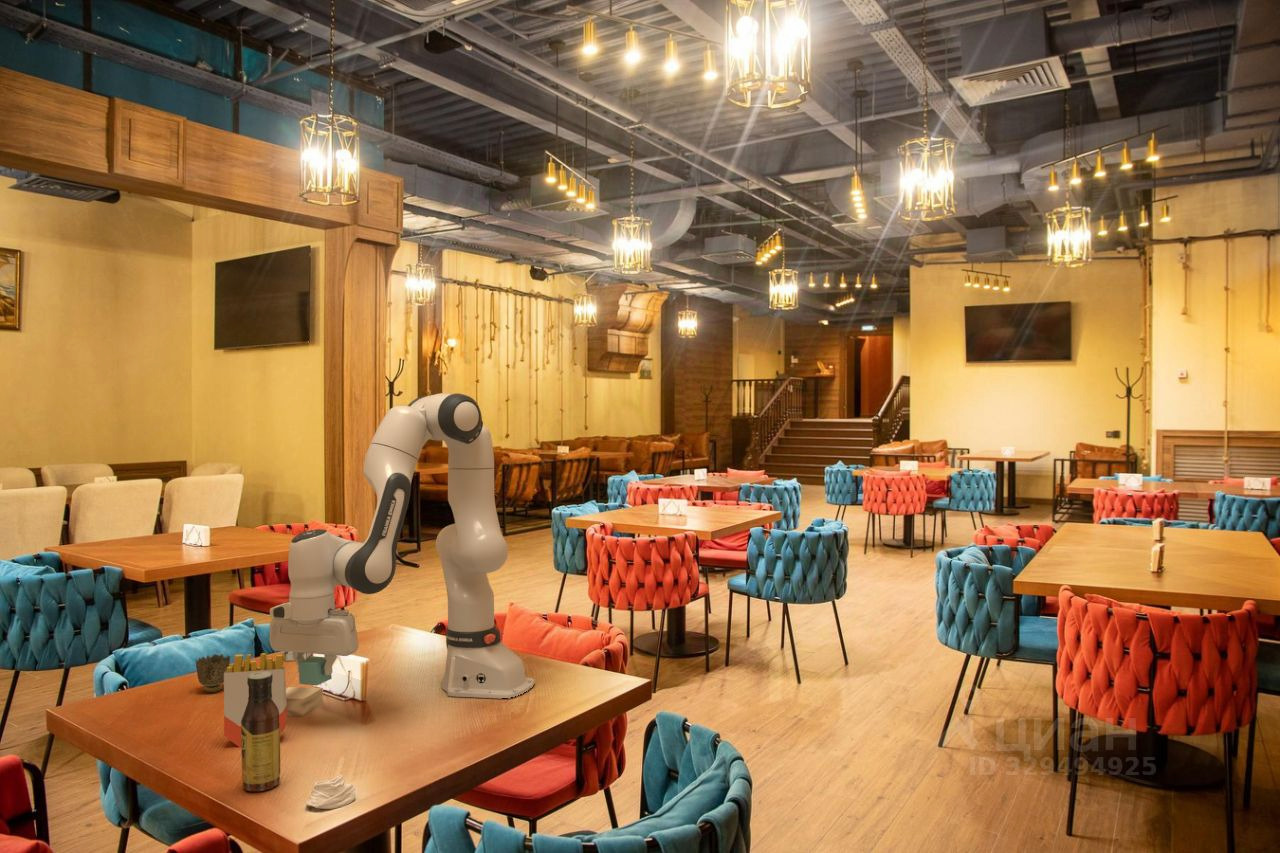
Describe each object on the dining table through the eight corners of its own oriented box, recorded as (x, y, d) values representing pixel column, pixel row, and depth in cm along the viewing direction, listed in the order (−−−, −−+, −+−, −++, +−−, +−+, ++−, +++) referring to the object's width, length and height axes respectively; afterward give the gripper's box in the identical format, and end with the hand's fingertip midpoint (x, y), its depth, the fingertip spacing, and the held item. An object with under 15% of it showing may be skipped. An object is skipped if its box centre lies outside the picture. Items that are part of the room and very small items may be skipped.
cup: (188, 694, 202) (188, 660, 202) (214, 685, 209) (214, 652, 209) (211, 697, 199) (211, 663, 199) (237, 688, 206) (237, 655, 206)
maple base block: (322, 705, 194) (322, 688, 194) (303, 717, 186) (303, 699, 186) (289, 704, 195) (289, 686, 195) (269, 716, 187) (269, 697, 187)
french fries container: (229, 740, 172) (229, 651, 172) (287, 735, 175) (286, 647, 175) (224, 748, 168) (223, 657, 168) (283, 743, 170) (282, 653, 170)
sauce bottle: (249, 779, 153) (249, 668, 153) (285, 778, 154) (285, 667, 154) (235, 795, 147) (234, 679, 146) (273, 793, 147) (272, 678, 147)
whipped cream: (317, 822, 139) (316, 794, 138) (297, 806, 143) (296, 778, 143) (361, 802, 145) (361, 775, 144) (341, 787, 149) (340, 761, 149)
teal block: (331, 678, 181) (330, 657, 181) (317, 685, 177) (316, 664, 177) (314, 677, 183) (313, 656, 183) (299, 683, 179) (298, 662, 178)
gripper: (363, 606, 179) (366, 672, 179) (284, 602, 186) (287, 665, 186) (343, 614, 173) (346, 681, 174) (263, 609, 180) (265, 674, 180)
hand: (315, 673), depth 180 cm, fingers closed on teal block, 4 cm apart
